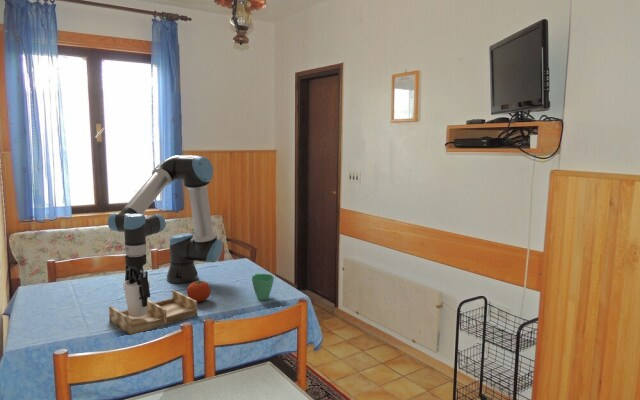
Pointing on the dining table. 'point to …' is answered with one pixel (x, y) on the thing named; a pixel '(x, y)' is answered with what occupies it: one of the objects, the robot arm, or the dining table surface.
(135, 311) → the foam cup
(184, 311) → the rack
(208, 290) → the tomato
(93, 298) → the dining table surface
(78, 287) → the dining table surface
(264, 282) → the mug
